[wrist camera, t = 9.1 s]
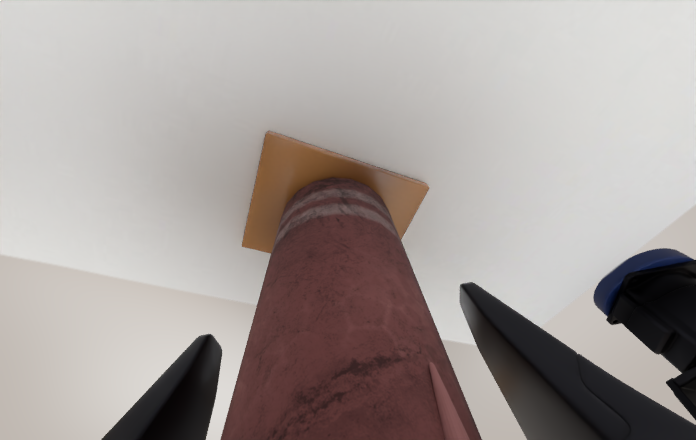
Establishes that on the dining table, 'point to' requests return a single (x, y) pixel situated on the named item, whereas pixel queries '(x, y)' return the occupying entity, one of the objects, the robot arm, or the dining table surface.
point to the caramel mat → (312, 165)
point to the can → (344, 333)
